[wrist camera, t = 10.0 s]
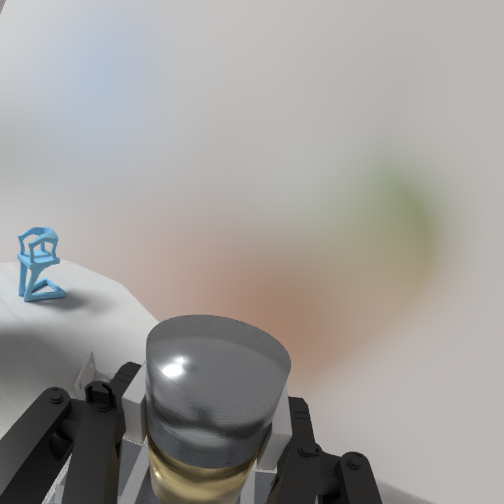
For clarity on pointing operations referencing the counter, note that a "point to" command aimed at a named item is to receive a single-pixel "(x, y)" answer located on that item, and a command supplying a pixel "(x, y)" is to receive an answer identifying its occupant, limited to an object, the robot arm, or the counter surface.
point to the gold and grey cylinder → (209, 405)
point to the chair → (38, 264)
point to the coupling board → (140, 488)
